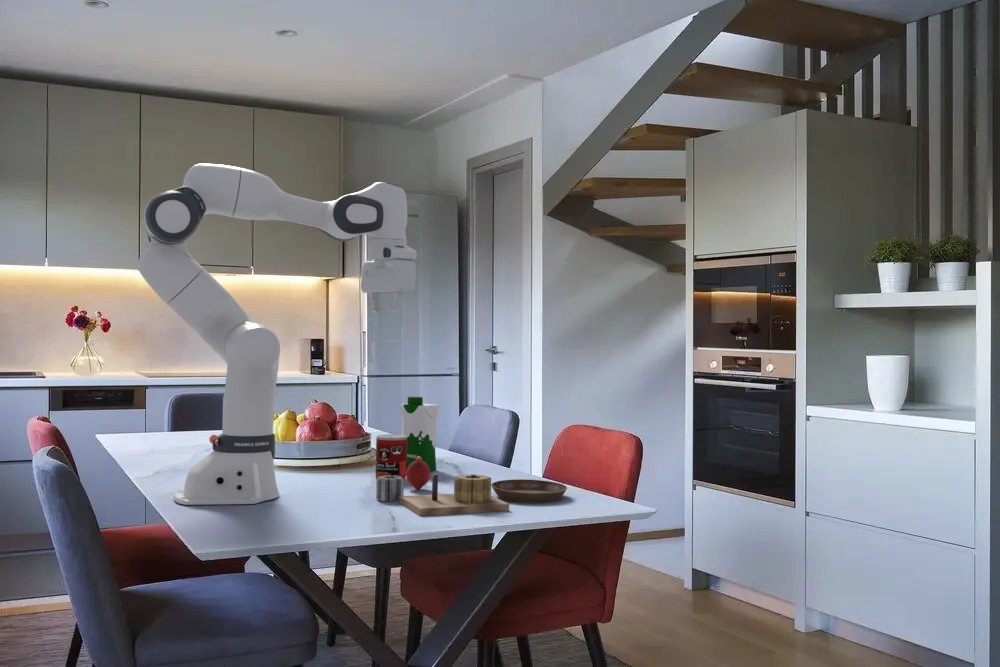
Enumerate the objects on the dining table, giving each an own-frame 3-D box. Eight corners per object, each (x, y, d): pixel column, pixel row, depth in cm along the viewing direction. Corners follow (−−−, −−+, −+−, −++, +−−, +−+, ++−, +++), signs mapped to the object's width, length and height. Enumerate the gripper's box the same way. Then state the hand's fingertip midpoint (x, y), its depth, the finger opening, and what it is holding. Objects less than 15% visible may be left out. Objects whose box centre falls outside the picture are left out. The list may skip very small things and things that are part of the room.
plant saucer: (582, 499, 224) (583, 486, 224) (530, 508, 212) (530, 494, 212) (528, 489, 237) (528, 476, 237) (475, 497, 225) (475, 483, 225)
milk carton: (395, 470, 260) (396, 396, 260) (415, 467, 268) (417, 395, 267) (421, 474, 255) (422, 398, 255) (441, 470, 263) (443, 396, 263)
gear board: (419, 515, 199) (420, 482, 199) (399, 502, 213) (400, 471, 213) (509, 511, 207) (509, 478, 207) (484, 498, 221) (484, 468, 221)
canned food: (369, 480, 244) (370, 436, 244) (385, 475, 251) (386, 433, 251) (396, 482, 241) (397, 438, 241) (411, 478, 248) (412, 435, 248)
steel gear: (380, 502, 213) (380, 480, 213) (373, 497, 219) (373, 475, 219) (406, 501, 215) (407, 479, 215) (399, 496, 221) (399, 474, 221)
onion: (426, 492, 228) (427, 458, 228) (402, 491, 229) (403, 457, 229) (432, 488, 233) (433, 455, 233) (410, 487, 235) (410, 454, 234)
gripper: (355, 254, 232) (353, 311, 232) (396, 249, 215) (395, 311, 215) (378, 256, 236) (377, 312, 236) (421, 251, 219) (419, 312, 219)
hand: (386, 312), depth 225 cm, fingers open, 8 cm apart
